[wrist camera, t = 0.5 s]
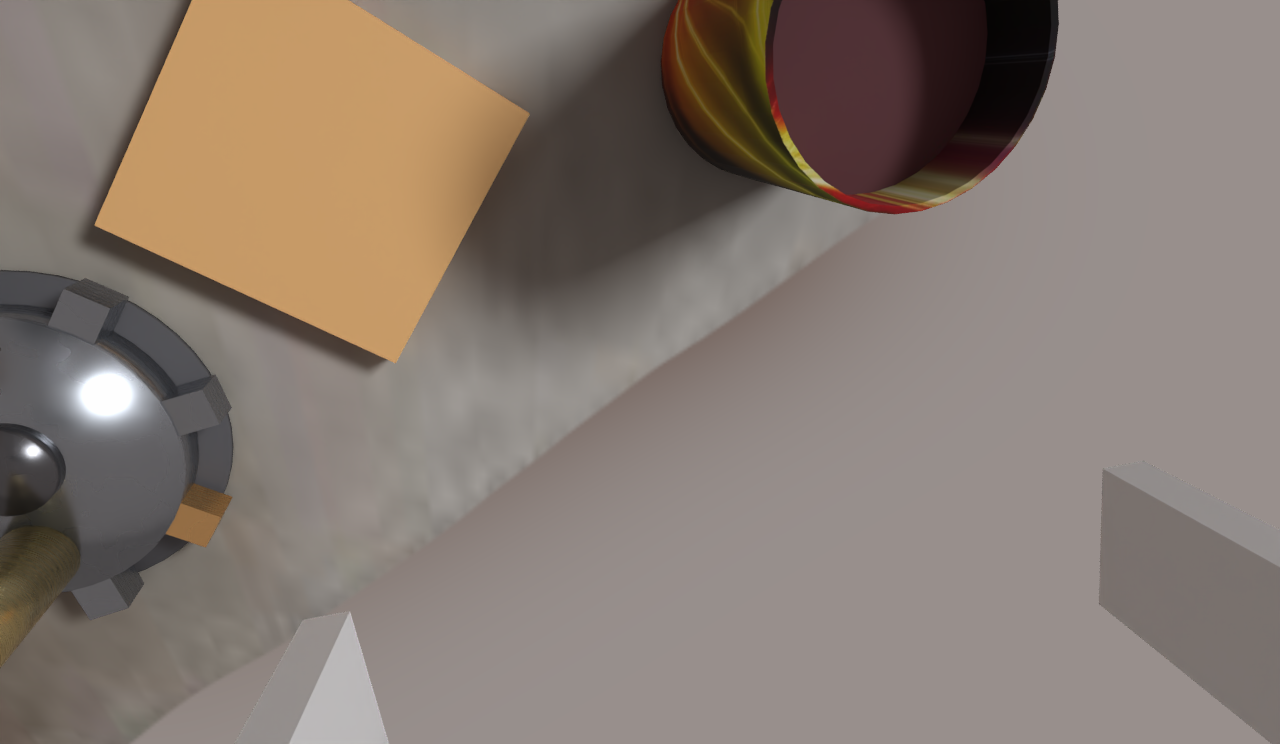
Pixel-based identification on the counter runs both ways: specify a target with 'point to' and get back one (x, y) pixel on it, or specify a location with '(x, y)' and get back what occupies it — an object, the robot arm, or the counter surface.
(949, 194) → the mug
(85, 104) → the counter surface
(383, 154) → the light orange square slab
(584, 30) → the counter surface
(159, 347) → the sprocket plinth
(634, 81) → the counter surface
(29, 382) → the sprocket
